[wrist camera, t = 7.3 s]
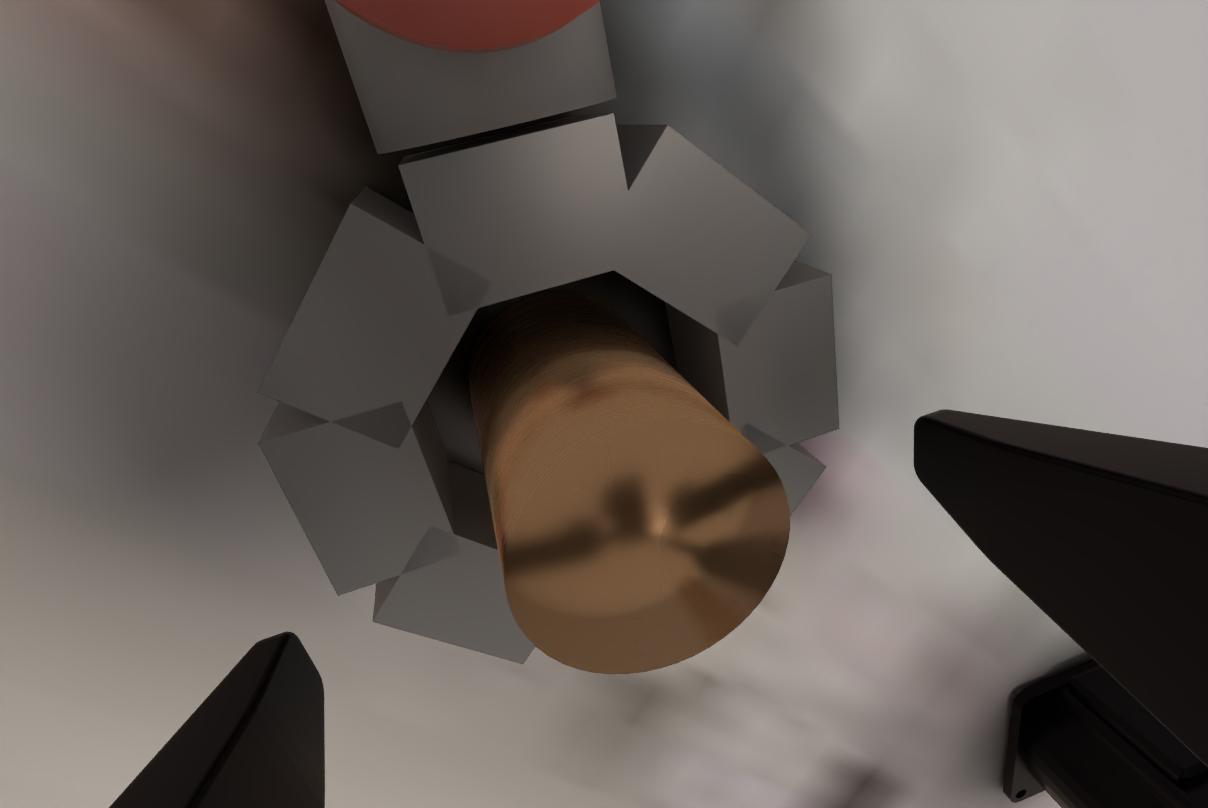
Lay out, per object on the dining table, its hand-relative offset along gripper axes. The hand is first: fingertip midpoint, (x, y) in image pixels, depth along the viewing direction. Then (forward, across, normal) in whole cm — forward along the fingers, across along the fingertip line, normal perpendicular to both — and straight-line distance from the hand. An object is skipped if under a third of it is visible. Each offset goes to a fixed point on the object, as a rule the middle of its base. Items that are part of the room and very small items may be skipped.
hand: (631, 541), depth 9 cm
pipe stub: (+7, 0, 0) cm, 7 cm away
